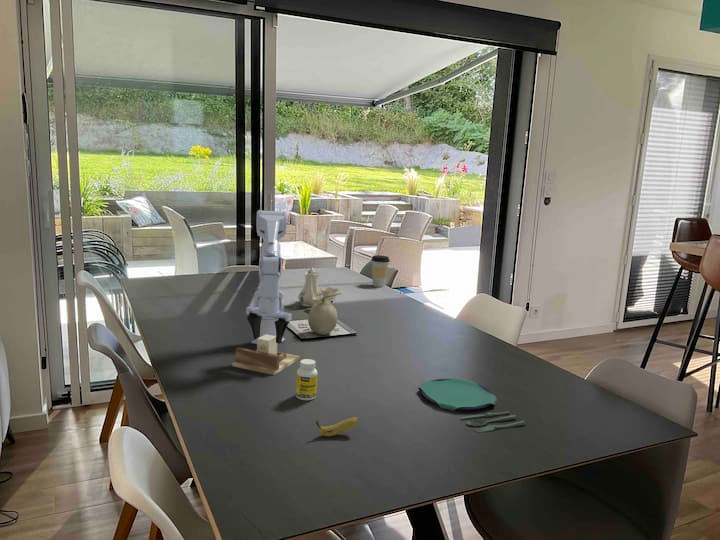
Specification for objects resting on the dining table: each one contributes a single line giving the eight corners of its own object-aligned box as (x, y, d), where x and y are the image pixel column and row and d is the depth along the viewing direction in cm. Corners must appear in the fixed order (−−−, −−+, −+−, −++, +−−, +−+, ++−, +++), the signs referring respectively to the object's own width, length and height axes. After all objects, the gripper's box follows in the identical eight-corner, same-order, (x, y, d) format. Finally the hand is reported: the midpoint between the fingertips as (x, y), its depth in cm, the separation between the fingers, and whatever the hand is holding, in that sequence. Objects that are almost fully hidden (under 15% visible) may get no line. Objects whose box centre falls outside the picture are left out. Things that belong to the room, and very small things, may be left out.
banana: (355, 430, 137) (356, 414, 136) (358, 435, 135) (359, 419, 134) (313, 434, 134) (314, 418, 133) (316, 439, 132) (317, 423, 131)
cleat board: (260, 351, 188) (261, 336, 187) (299, 359, 183) (300, 343, 182) (232, 366, 173) (232, 350, 172) (273, 375, 168) (274, 358, 167)
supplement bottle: (297, 401, 152) (299, 365, 150) (294, 393, 157) (295, 358, 155) (318, 400, 153) (320, 364, 151) (314, 392, 158) (315, 357, 156)
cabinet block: (265, 356, 181) (266, 334, 180) (276, 358, 179) (277, 336, 178) (255, 361, 176) (256, 339, 174) (266, 364, 174) (267, 341, 173)
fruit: (300, 334, 208) (302, 293, 205) (317, 327, 218) (319, 288, 215) (325, 340, 203) (327, 298, 201) (341, 333, 214) (344, 292, 211)
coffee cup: (367, 283, 302) (369, 254, 299) (384, 283, 305) (386, 255, 302) (372, 287, 293) (374, 258, 290) (390, 287, 296) (392, 258, 293)
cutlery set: (468, 381, 173) (468, 374, 173) (532, 427, 146) (533, 419, 146) (407, 388, 166) (408, 380, 166) (463, 438, 139) (464, 429, 138)
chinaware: (333, 318, 239) (339, 278, 236) (292, 311, 238) (298, 271, 235) (337, 302, 266) (342, 266, 263) (300, 296, 266) (306, 260, 263)
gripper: (240, 295, 173) (239, 339, 176) (284, 302, 168) (282, 348, 171) (253, 291, 180) (252, 333, 182) (295, 297, 175) (293, 341, 177)
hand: (267, 340), depth 177 cm, fingers open, 7 cm apart
